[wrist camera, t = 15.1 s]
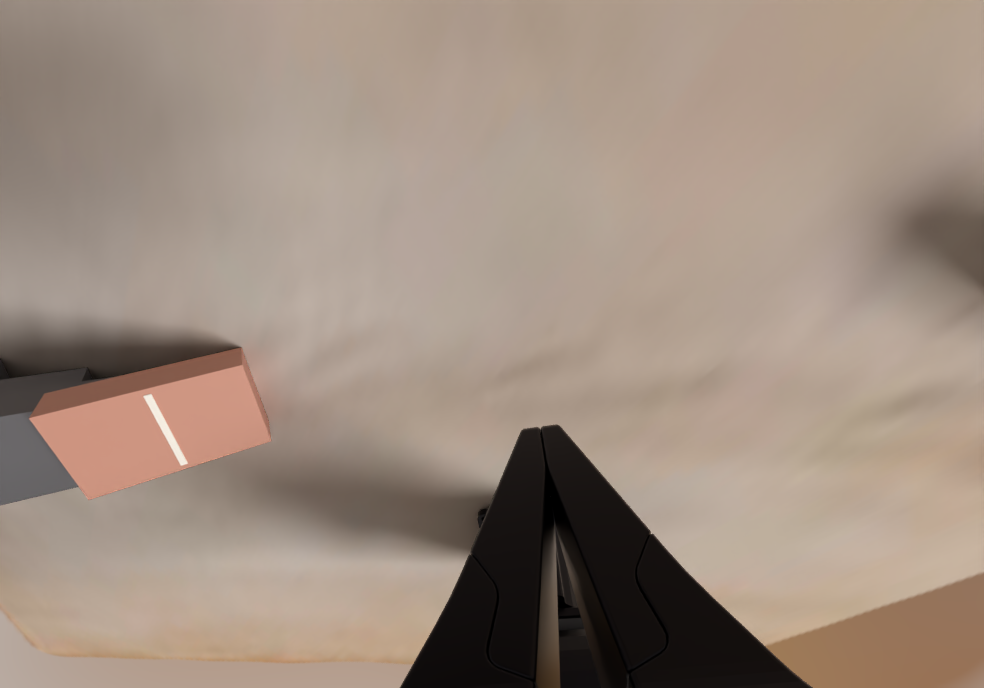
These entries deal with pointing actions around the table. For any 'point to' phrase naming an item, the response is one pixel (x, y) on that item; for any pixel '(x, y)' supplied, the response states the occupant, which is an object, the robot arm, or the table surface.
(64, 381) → the domino
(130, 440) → the domino
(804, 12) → the table surface
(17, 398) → the domino
